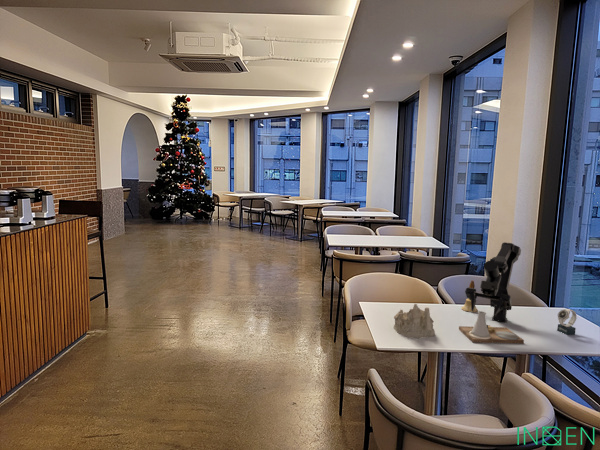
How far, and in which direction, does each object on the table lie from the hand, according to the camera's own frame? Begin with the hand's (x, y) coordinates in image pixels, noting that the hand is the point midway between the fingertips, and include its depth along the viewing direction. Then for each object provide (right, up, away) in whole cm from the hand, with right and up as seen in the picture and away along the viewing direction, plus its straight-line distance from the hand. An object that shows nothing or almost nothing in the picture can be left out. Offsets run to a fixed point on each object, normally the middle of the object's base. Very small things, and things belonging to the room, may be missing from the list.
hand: (483, 313), depth 184 cm
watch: (+43, -11, +10) cm, 45 cm away
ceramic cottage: (-29, -10, +6) cm, 31 cm away
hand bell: (+10, -7, +40) cm, 41 cm away
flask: (-1, -9, 0) cm, 10 cm away
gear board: (+4, -11, +3) cm, 12 cm away
